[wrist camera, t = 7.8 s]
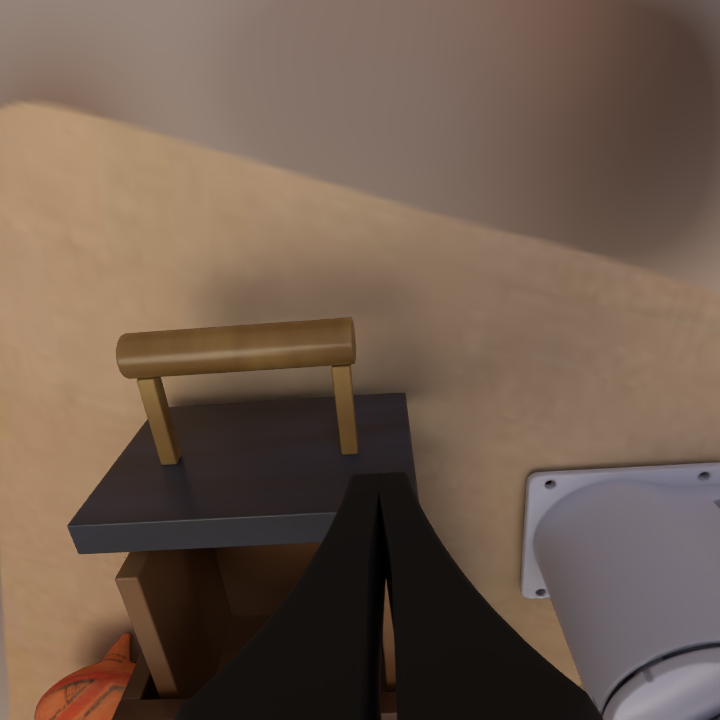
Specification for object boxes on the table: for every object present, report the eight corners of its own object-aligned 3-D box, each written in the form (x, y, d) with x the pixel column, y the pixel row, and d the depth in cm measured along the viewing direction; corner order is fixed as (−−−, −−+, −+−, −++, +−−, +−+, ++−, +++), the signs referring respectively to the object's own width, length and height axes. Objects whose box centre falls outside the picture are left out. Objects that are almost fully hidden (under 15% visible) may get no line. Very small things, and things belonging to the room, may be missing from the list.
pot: (38, 626, 30) (-13, 751, 23) (181, 599, 31) (168, 710, 25) (73, 719, 33) (35, 851, 26) (202, 689, 34) (194, 808, 28)
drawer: (125, 299, 21) (7, 383, 14) (399, 279, 20) (413, 356, 13) (212, 609, 28) (163, 762, 21) (416, 601, 27) (430, 755, 21)
